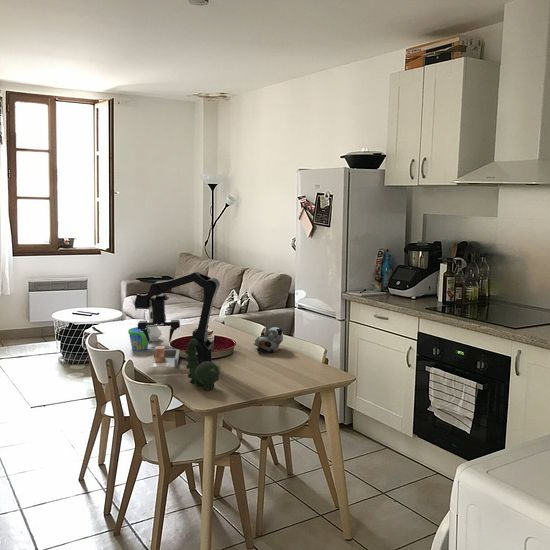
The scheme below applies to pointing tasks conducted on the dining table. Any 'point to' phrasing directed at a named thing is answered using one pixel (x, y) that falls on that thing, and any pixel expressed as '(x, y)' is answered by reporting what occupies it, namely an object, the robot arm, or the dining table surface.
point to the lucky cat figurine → (270, 339)
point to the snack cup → (138, 339)
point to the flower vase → (154, 330)
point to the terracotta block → (159, 354)
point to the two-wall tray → (167, 359)
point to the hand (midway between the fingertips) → (159, 342)
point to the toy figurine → (200, 368)
